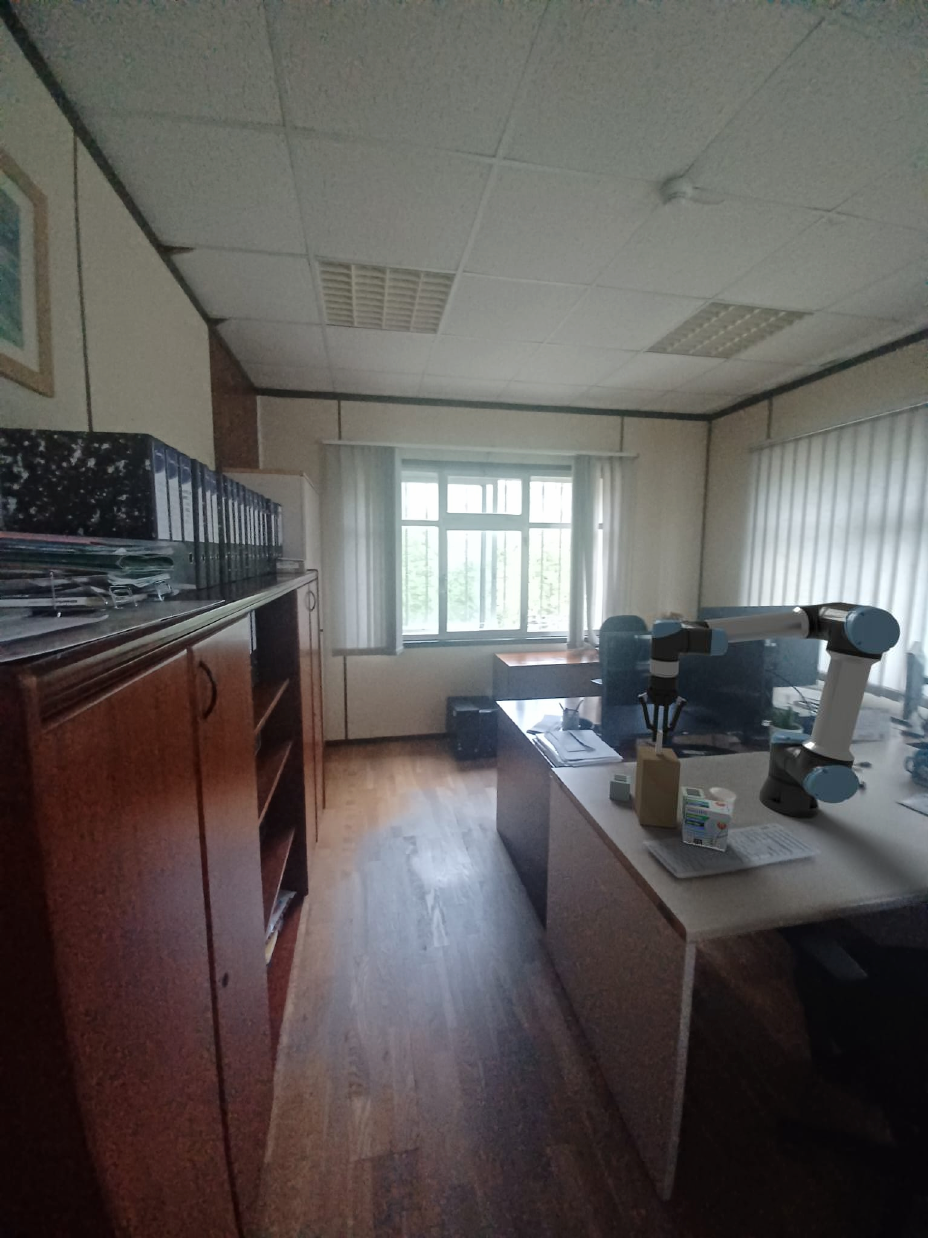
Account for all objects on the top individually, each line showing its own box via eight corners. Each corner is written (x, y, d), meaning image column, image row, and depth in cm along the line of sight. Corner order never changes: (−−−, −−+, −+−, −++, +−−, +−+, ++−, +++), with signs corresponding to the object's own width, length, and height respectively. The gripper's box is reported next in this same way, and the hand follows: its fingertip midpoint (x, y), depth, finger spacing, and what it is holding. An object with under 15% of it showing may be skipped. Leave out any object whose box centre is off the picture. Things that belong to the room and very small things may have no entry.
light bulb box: (682, 844, 124) (685, 806, 123) (681, 830, 131) (683, 794, 129) (727, 853, 120) (730, 815, 119) (723, 839, 127) (727, 802, 125)
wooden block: (676, 829, 131) (681, 762, 128) (639, 825, 133) (643, 759, 130) (668, 810, 141) (672, 748, 138) (633, 806, 143) (637, 745, 140)
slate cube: (629, 793, 151) (630, 775, 151) (629, 802, 146) (630, 783, 145) (609, 789, 153) (610, 772, 152) (609, 798, 148) (610, 780, 147)
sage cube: (700, 807, 143) (702, 788, 142) (704, 818, 137) (705, 798, 136) (679, 804, 145) (681, 785, 144) (681, 814, 139) (683, 794, 138)
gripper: (687, 672, 132) (681, 751, 136) (638, 669, 137) (634, 744, 140) (690, 679, 125) (684, 761, 129) (639, 675, 130) (634, 754, 133)
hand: (658, 752), depth 134 cm, fingers closed
